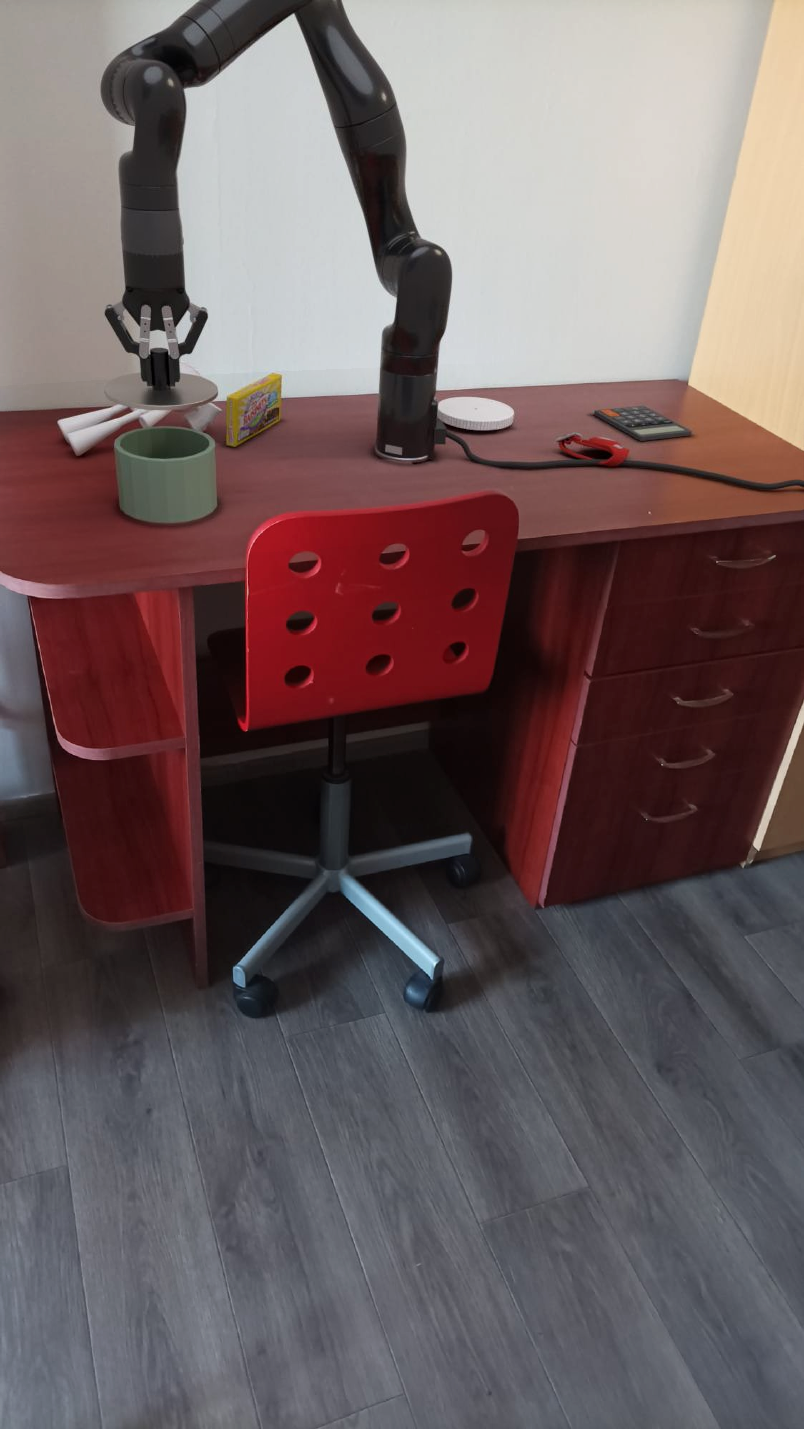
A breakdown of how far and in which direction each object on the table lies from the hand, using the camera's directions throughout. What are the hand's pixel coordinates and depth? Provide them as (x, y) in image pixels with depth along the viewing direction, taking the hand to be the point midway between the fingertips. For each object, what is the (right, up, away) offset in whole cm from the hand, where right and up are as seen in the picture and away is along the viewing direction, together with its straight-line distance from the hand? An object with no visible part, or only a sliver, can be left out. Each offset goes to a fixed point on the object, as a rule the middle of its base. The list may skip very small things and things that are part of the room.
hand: (161, 384), depth 140 cm
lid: (0, -1, +1) cm, 1 cm away
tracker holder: (+65, 0, +39) cm, 76 cm away
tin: (-1, -14, +10) cm, 18 cm away
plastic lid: (+45, +9, +50) cm, 68 cm away
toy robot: (-10, 0, +31) cm, 33 cm away
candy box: (+7, +3, +37) cm, 38 cm away
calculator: (+77, +10, +54) cm, 95 cm away
